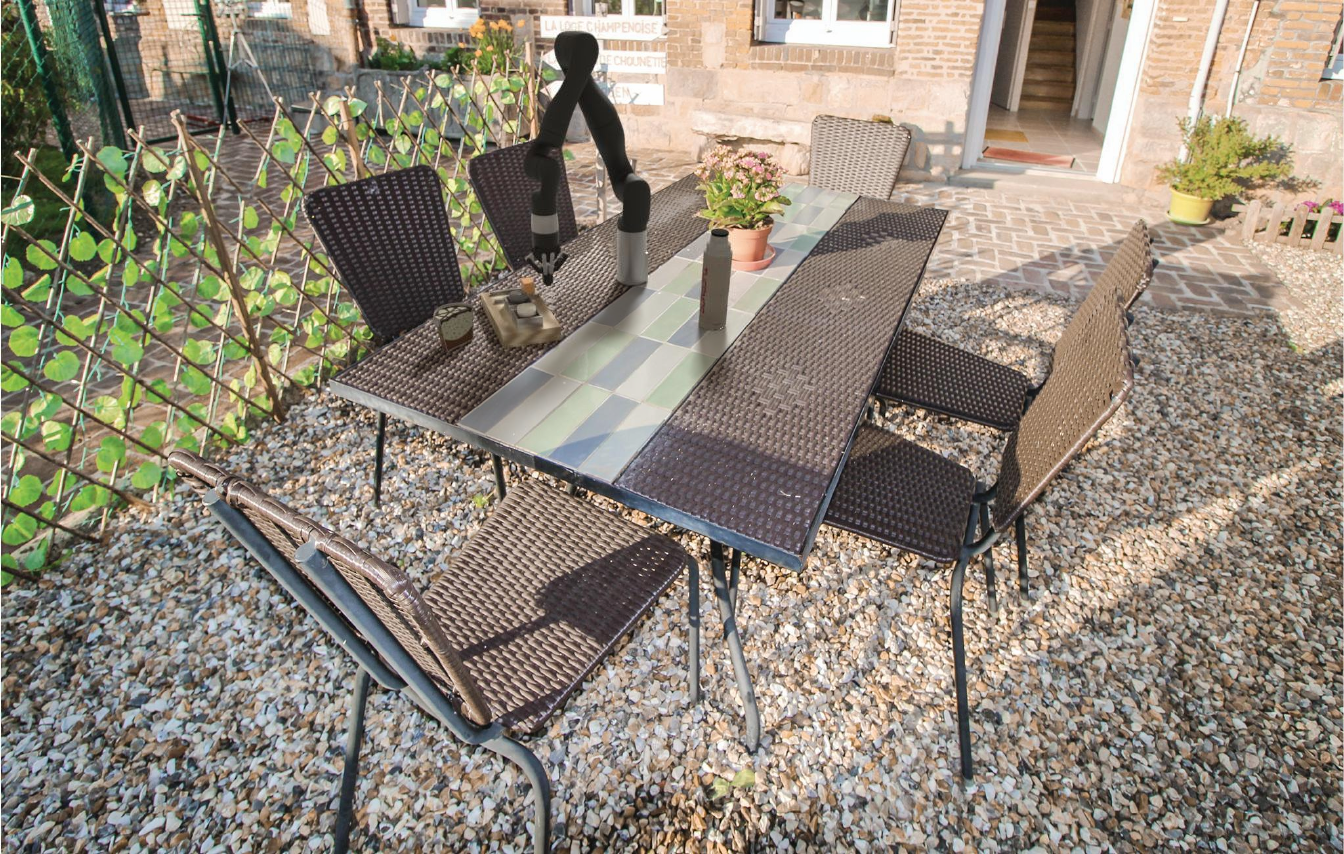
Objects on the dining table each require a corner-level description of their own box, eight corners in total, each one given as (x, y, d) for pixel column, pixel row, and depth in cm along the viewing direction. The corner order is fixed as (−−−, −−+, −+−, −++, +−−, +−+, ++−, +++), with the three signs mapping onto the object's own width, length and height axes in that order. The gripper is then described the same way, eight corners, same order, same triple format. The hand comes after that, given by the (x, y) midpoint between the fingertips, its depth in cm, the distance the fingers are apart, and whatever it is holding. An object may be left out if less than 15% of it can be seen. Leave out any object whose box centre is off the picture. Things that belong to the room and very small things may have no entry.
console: (534, 298, 225) (533, 277, 221) (561, 339, 204) (560, 316, 200) (481, 305, 219) (479, 283, 215) (503, 348, 198) (501, 325, 194)
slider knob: (531, 290, 220) (530, 277, 217) (535, 295, 217) (534, 282, 215) (521, 291, 219) (520, 278, 216) (525, 296, 216) (524, 283, 213)
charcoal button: (524, 295, 211) (524, 289, 210) (529, 302, 207) (529, 296, 206) (507, 297, 209) (507, 291, 208) (511, 304, 205) (511, 298, 204)
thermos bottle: (700, 330, 212) (707, 236, 196) (697, 318, 219) (703, 225, 203) (727, 330, 213) (736, 236, 197) (723, 318, 220) (732, 226, 204)
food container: (462, 330, 206) (458, 297, 200) (477, 337, 203) (474, 304, 197) (427, 347, 197) (421, 313, 192) (442, 354, 195) (437, 320, 189)
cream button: (533, 308, 204) (532, 302, 203) (538, 315, 200) (537, 309, 199) (515, 310, 202) (514, 304, 201) (519, 318, 198) (519, 312, 197)
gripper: (563, 221, 214) (565, 277, 224) (518, 226, 210) (522, 283, 219) (571, 230, 209) (573, 287, 218) (525, 235, 204) (529, 293, 214)
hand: (547, 285), depth 219 cm, fingers closed
